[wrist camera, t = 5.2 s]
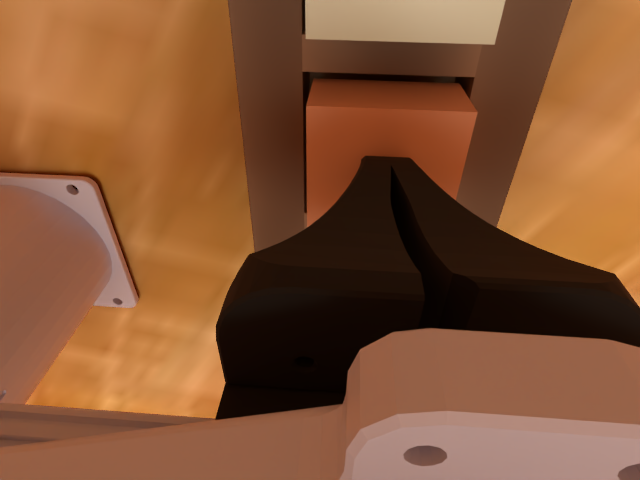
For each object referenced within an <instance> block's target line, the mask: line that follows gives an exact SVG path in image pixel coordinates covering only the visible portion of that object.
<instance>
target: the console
mask: <svg viewBox="0 0 640 480" xmlns="http://www.w3.org/2000/svg"><path fill="white" fill-rule="evenodd" d="M571 2H572V0H506V1H505V5H504V9H503V13H502V17H501V21H500V25H499V29H498V33H497V37H496V41H495V45H490V44H456V43H422V42H388V41H354V40H320V39H306V26H305V0H228V5H229V15H230V24H231V33H232V43H233V52H234V62H235V71H236V80H237V90H238V99H239V108H240V118H241V127H242V136H243V146H244V155H245V164H246V174H247V183H248V192H249V202H250V211H251V220H252V230H253V239H254V248H255V252H257V251H260V250H263V249H265V248H268V247H270V246H273V245H275V244H278V243H280V242H282V241H284V240H286V239H288V238H290V237H292V236H294V235H296V234H297V233H299V232H301V231H303V230H304V229H306V228H307V154H306V105H307V101H308V97H309V94H310V90H311V86H312V83H313V79H314V78H318V79H348V80H377V81H406V82H436V83H459V84H460V85H461V87H462V88H463V90H464V92H465V93H466V95H467V96H468V98H469V99H470V101H471V103H472V104H473V106H474V107H475V109H476V110H477V112H478V113H477V117H476V121H475V125H474V129H473V133H472V137H471V141H470V145H469V149H468V153H467V157H466V161H465V165H464V169H463V173H462V177H461V181H460V185H459V189H458V193H457V197H456V201H457V202H458V203H460V204H461V205H462V206H464V207H465V208H466V209H468V210H469V211H470V212H472V213H473V214H475V215H477V216H478V217H480V218H481V219H483V220H484V221H486V222H488V223H489V224H491V225H493V226H494V227H497V224H498V221H499V218H500V215H501V212H502V209H503V206H504V203H505V200H506V197H507V194H508V191H509V188H510V185H511V182H512V179H513V176H514V173H515V170H516V167H517V164H518V161H519V158H520V155H521V152H522V149H523V146H524V143H525V140H526V137H527V134H528V131H529V128H530V125H531V122H532V119H533V116H534V113H535V110H536V107H537V104H538V101H539V98H540V95H541V92H542V89H543V86H544V83H545V80H546V77H547V74H548V71H549V68H550V65H551V62H552V59H553V56H554V53H555V50H556V47H557V44H558V41H559V38H560V35H561V32H562V29H563V26H564V23H565V20H566V17H567V14H568V11H569V8H570V5H571Z"/></svg>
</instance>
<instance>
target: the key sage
mask: <svg viewBox="0 0 640 480" xmlns="http://www.w3.org/2000/svg"><path fill="white" fill-rule="evenodd" d="M505 1H506V0H305V26H306V39H320V40H354V41H388V42H422V43H456V44H490V45H495V41H496V37H497V33H498V29H499V25H500V21H501V17H502V13H503V9H504V5H505Z"/></svg>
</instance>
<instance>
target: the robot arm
mask: <svg viewBox="0 0 640 480" xmlns="http://www.w3.org/2000/svg"><path fill="white" fill-rule="evenodd" d="M72 185H74V186H75V187H77V189H78V190H76V189H75V188H73V186H72ZM137 302H138V296H137V293H136V290H135V287H134V285H133V282H132V279H131V276H130V273H129V271H128V268H127V265H126V262H125V259H124V257H123V254H122V251H121V248H120V246H119V243H118V240H117V237H116V234H115V232H114V229H113V226H112V223H111V220H110V218H109V215H108V212H107V209H106V207H105V204H104V201H103V198H102V195H101V193H100V190H99V187H98V185H97V183H96V182H95V181H94V180H92V179H90V178H89V177H84V176H65V175H43V174H22V173H0V480H640V307H639V306H638V305H637V303H636V302H635V301H634V299H633V298H632V297H631V295H630V294H629V292H628V291H627V290H626V288H625V287H624V286H623V284H622V283H621V281H620V280H619V279H618V278H617V276H616V275H615V274H613V273H610V272H607V271H603V270H600V269H597V268H594V267H591V266H587V265H584V264H581V263H578V262H575V261H571V260H568V259H565V258H563V257H560V256H557V255H555V254H552V253H550V252H547V251H545V250H542V249H540V248H537V247H535V246H533V245H530V244H528V243H526V242H524V241H521V240H519V239H517V238H515V237H513V236H511V235H510V234H508V233H506V232H504V231H502V230H500V229H498V228H496V227H494V226H493V225H491V224H489V223H488V222H486V221H484V220H483V219H481V218H480V217H478V216H477V215H475V214H473V213H472V212H470V211H469V210H468V209H466V208H465V207H464V206H462V205H461V204H460V203H458V202H457V201H456V200H455V199H453V198H452V197H451V196H450V195H448V194H447V193H446V192H445V191H444V190H443V189H442V188H440V187H439V186H438V185H437V184H436V183H435V182H434V181H433V180H432V179H431V178H430V177H429V176H428V175H427V174H426V173H425V172H424V171H423V170H422V169H421V168H420V167H419V166H418V165H417V164H416V163H415V162H414V161H413V160H412V159H411V158H409V157H385V156H365V157H363V158H362V159H361V164H360V167H359V169H358V171H357V173H356V175H355V176H354V178H353V180H352V181H351V183H350V184H349V186H348V187H347V189H346V190H345V191H344V193H343V194H342V195H341V196H340V198H339V199H338V200H337V201H336V202H335V204H334V205H333V206H332V207H331V208H330V209H329V210H328V211H327V212H326V213H325V214H324V215H322V216H321V217H320V218H319V219H318V220H316V221H315V222H314V223H313V224H311V225H310V226H309V227H307V228H306V229H304V230H303V231H301V232H299V233H297V234H296V235H294V236H292V237H290V238H288V239H286V240H284V241H282V242H280V243H278V244H275V245H273V246H270V247H268V248H265V249H263V250H260V251H257V252H255V253H252V254H250V255H248V257H247V258H246V260H245V262H244V263H243V265H242V266H241V268H240V270H239V272H238V273H237V275H236V277H235V279H234V281H233V282H232V284H231V286H230V288H229V291H228V293H227V295H226V298H225V301H224V304H223V307H222V309H221V312H220V315H219V318H218V321H217V324H216V341H217V346H218V350H219V355H220V359H221V364H222V369H223V373H224V378H225V383H226V384H225V387H224V391H223V394H222V398H221V401H220V405H219V408H218V412H217V415H216V419H211V418H198V417H185V416H171V415H158V414H145V413H132V412H118V411H105V410H92V409H79V408H65V407H52V406H39V405H25V403H26V402H27V400H28V399H29V397H30V396H31V394H32V393H33V392H34V390H35V389H36V387H37V386H38V384H39V383H40V381H41V380H42V378H43V377H44V376H45V374H46V373H47V371H48V370H49V368H50V367H51V365H52V364H53V362H54V361H55V360H56V358H57V357H58V355H59V354H60V352H61V351H62V349H63V348H64V346H65V345H66V344H67V342H68V341H69V339H70V338H71V336H72V335H73V333H74V332H75V330H76V329H77V327H78V326H79V325H80V323H81V322H82V320H83V319H84V317H85V316H86V314H87V313H88V311H89V310H90V309H91V307H92V306H108V307H124V308H133V307H135V306H136V304H137Z"/></svg>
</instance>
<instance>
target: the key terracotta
mask: <svg viewBox="0 0 640 480" xmlns="http://www.w3.org/2000/svg"><path fill="white" fill-rule="evenodd" d="M477 113H478V112H477V110H476V109H475V107H474V106H473V104H472V103H471V101H470V99H469V98H468V96H467V95H466V93H465V92H464V90H463V88H462V87H461V85H460V84H459V83H436V82H406V81H377V80H348V79H318V78H314V79H313V83H312V86H311V90H310V94H309V97H308V101H307V105H306V154H307V227H309V226H310V225H311V224H313V223H314V222H315V221H316V220H318V219H319V218H320V217H321V216H322V215H324V214H325V213H326V212H327V211H328V210H329V209H330V208H331V207H332V206H333V205H334V204H335V202H336V201H337V200H338V199H339V198H340V196H341V195H342V194H343V193H344V191H345V190H346V189H347V187H348V186H349V184H350V183H351V181H352V180H353V178H354V176H355V175H356V173H357V171H358V169H359V167H360V164H361V159H362V158H363V157H365V156H385V157H409V158H411V159H412V160H413V161H414V162H415V163H416V164H417V165H418V166H419V167H420V168H421V169H422V170H423V171H424V172H425V173H426V174H427V175H428V176H429V177H430V178H431V179H432V180H433V181H434V182H435V183H436V184H437V185H438V186H439V187H440V188H442V189H443V190H444V191H445V192H446V193H447V194H448V195H450V196H451V197H452V198H453V199H455V200H456V197H457V193H458V189H459V185H460V181H461V177H462V173H463V169H464V165H465V161H466V157H467V153H468V149H469V145H470V141H471V137H472V133H473V129H474V125H475V121H476V117H477Z"/></svg>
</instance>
